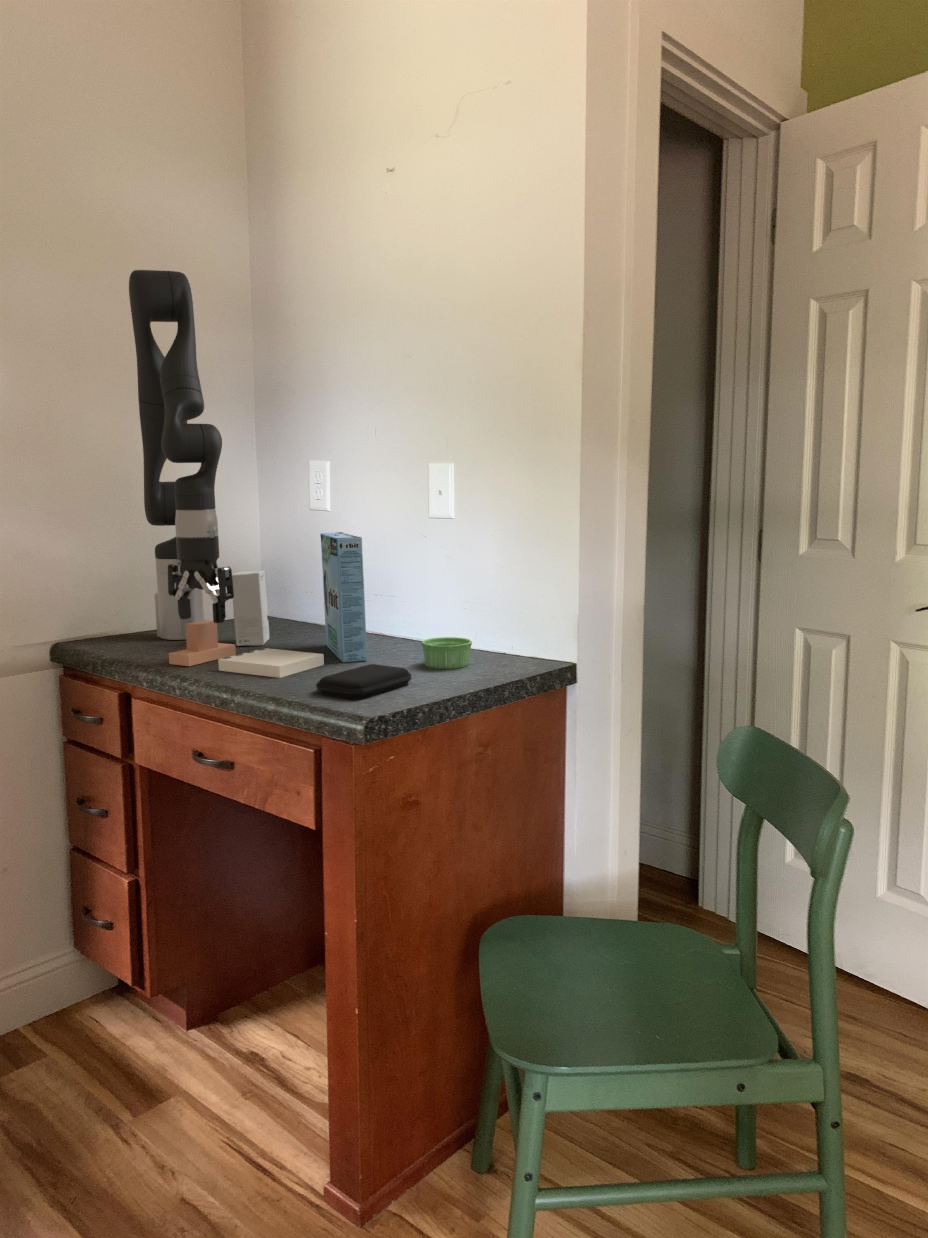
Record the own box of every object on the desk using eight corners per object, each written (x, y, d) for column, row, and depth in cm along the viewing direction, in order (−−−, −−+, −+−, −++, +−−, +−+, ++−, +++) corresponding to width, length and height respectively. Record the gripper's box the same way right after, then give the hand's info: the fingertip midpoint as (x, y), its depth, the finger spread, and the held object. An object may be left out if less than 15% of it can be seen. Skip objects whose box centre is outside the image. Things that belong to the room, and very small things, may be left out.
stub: (169, 663, 166) (166, 626, 165) (216, 652, 177) (214, 617, 176) (189, 666, 164) (186, 628, 163) (235, 654, 174) (233, 618, 173)
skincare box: (264, 646, 184) (260, 573, 182) (234, 646, 183) (230, 573, 181) (269, 639, 192) (266, 569, 190) (241, 639, 192) (237, 569, 189)
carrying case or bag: (367, 678, 154) (305, 695, 142) (366, 660, 154) (305, 676, 142) (416, 685, 148) (357, 704, 136) (416, 666, 148) (356, 684, 136)
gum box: (367, 661, 167) (363, 536, 163) (340, 663, 165) (335, 537, 162) (348, 643, 185) (345, 531, 182) (324, 645, 184) (319, 532, 180)
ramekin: (480, 662, 165) (480, 639, 164) (456, 672, 157) (456, 647, 156) (438, 658, 169) (438, 635, 168) (412, 667, 161) (412, 643, 160)
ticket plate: (218, 670, 160) (218, 658, 160) (264, 658, 171) (264, 647, 170) (279, 677, 154) (279, 665, 153) (323, 664, 164) (323, 653, 164)
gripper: (153, 534, 167) (159, 620, 170) (211, 536, 160) (216, 627, 163) (184, 531, 173) (189, 614, 176) (240, 533, 167) (244, 620, 169)
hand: (202, 620), depth 170 cm, fingers open, 8 cm apart
